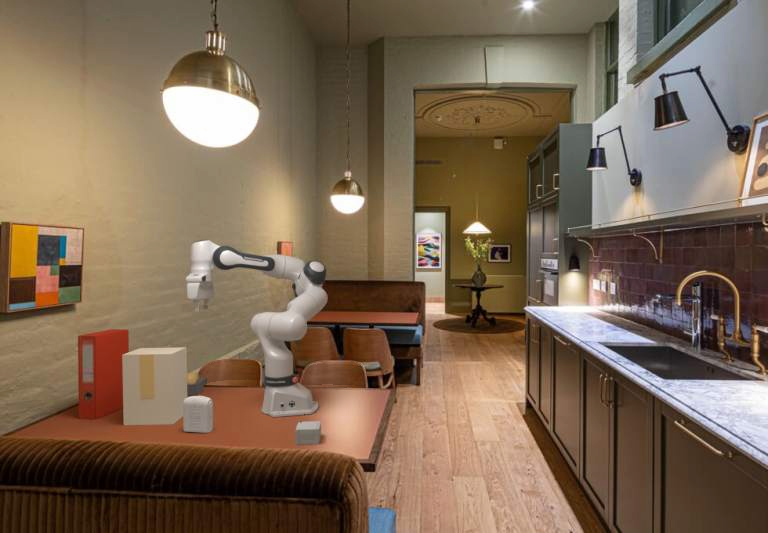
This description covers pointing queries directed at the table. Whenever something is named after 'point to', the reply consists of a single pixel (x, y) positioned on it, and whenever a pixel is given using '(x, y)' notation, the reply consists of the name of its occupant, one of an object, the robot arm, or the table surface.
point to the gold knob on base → (195, 383)
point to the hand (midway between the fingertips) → (201, 310)
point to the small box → (308, 433)
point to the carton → (154, 385)
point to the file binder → (101, 372)
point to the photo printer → (198, 414)
